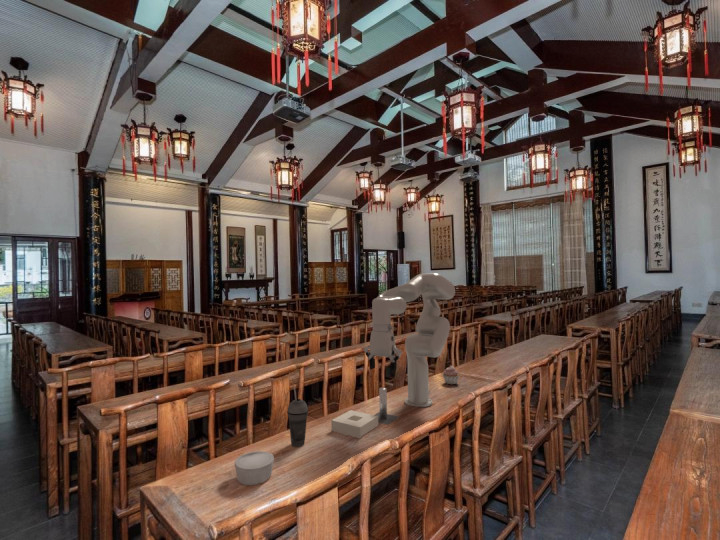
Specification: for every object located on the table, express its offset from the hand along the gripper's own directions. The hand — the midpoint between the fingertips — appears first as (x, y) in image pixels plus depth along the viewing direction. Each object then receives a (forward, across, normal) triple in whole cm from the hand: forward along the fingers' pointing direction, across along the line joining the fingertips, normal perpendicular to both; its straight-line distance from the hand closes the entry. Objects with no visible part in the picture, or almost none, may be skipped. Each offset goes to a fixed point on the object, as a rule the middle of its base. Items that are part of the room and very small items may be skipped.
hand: (382, 370), depth 154 cm
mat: (+20, 0, 0) cm, 20 cm away
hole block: (+20, +5, +14) cm, 25 cm away
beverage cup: (+20, +14, +36) cm, 43 cm away
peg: (+20, 0, 0) cm, 20 cm away
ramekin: (+20, +11, +59) cm, 63 cm away
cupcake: (+22, -6, -65) cm, 69 cm away
